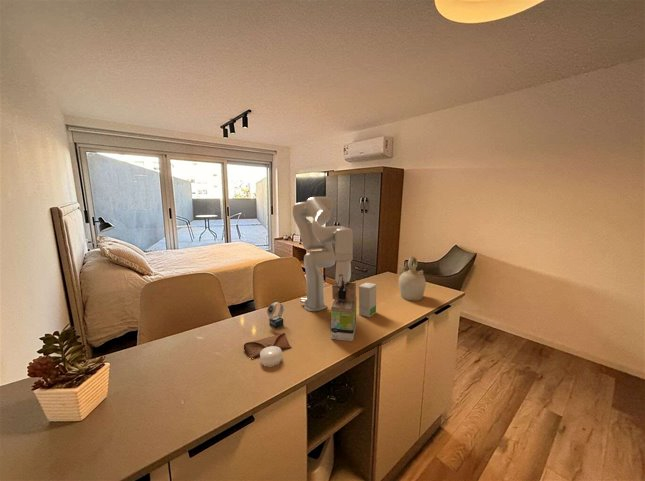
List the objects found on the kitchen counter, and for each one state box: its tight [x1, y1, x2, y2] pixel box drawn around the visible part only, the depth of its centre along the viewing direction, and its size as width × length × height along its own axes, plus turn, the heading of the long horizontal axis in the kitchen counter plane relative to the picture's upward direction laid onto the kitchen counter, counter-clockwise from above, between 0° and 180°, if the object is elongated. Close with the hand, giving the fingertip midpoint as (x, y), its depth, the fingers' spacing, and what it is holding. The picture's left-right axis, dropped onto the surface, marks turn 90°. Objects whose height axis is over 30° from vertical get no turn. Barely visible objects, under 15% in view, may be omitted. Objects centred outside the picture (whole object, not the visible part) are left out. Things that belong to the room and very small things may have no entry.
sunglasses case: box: [243, 332, 292, 360], centre depth 106 cm, size 18×7×7 cm
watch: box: [266, 301, 285, 329], centre depth 125 cm, size 6×8×11 cm
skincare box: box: [358, 282, 377, 318], centre depth 135 cm, size 8×7×16 cm
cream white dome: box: [259, 346, 283, 367], centre depth 98 cm, size 8×8×4 cm
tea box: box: [330, 296, 358, 342], centre depth 117 cm, size 15×10×15 cm
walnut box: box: [331, 282, 357, 301], centre depth 115 cm, size 9×6×6 cm
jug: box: [398, 256, 427, 302], centre depth 156 cm, size 15×16×25 cm
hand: (344, 295), depth 116 cm, fingers closed on walnut box, 6 cm apart
